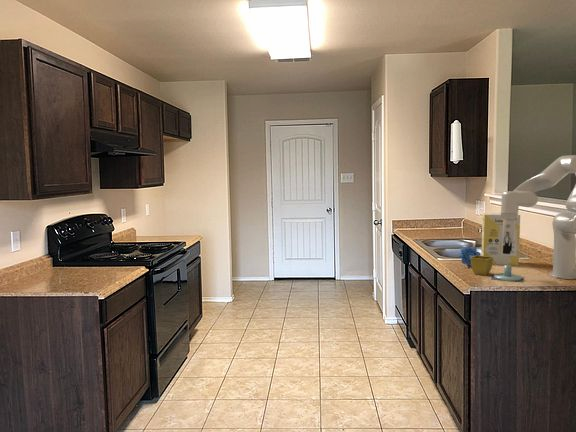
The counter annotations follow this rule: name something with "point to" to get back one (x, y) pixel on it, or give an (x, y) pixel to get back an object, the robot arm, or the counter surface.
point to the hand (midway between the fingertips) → (507, 252)
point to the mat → (510, 281)
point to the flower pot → (481, 264)
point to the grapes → (468, 255)
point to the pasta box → (498, 240)
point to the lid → (507, 275)
